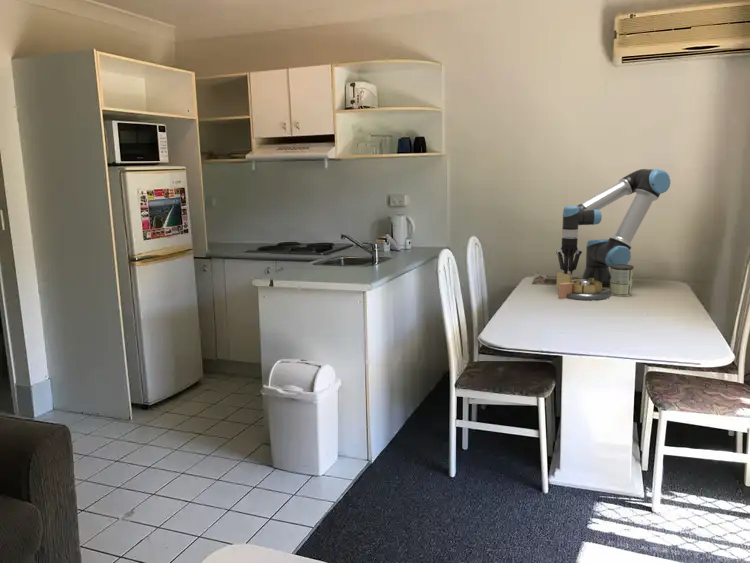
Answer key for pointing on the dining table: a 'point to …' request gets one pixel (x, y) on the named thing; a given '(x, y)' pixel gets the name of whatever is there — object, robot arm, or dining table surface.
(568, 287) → the block
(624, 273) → the coffee can
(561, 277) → the gold octagonal ring
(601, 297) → the plate
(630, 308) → the dining table surface
